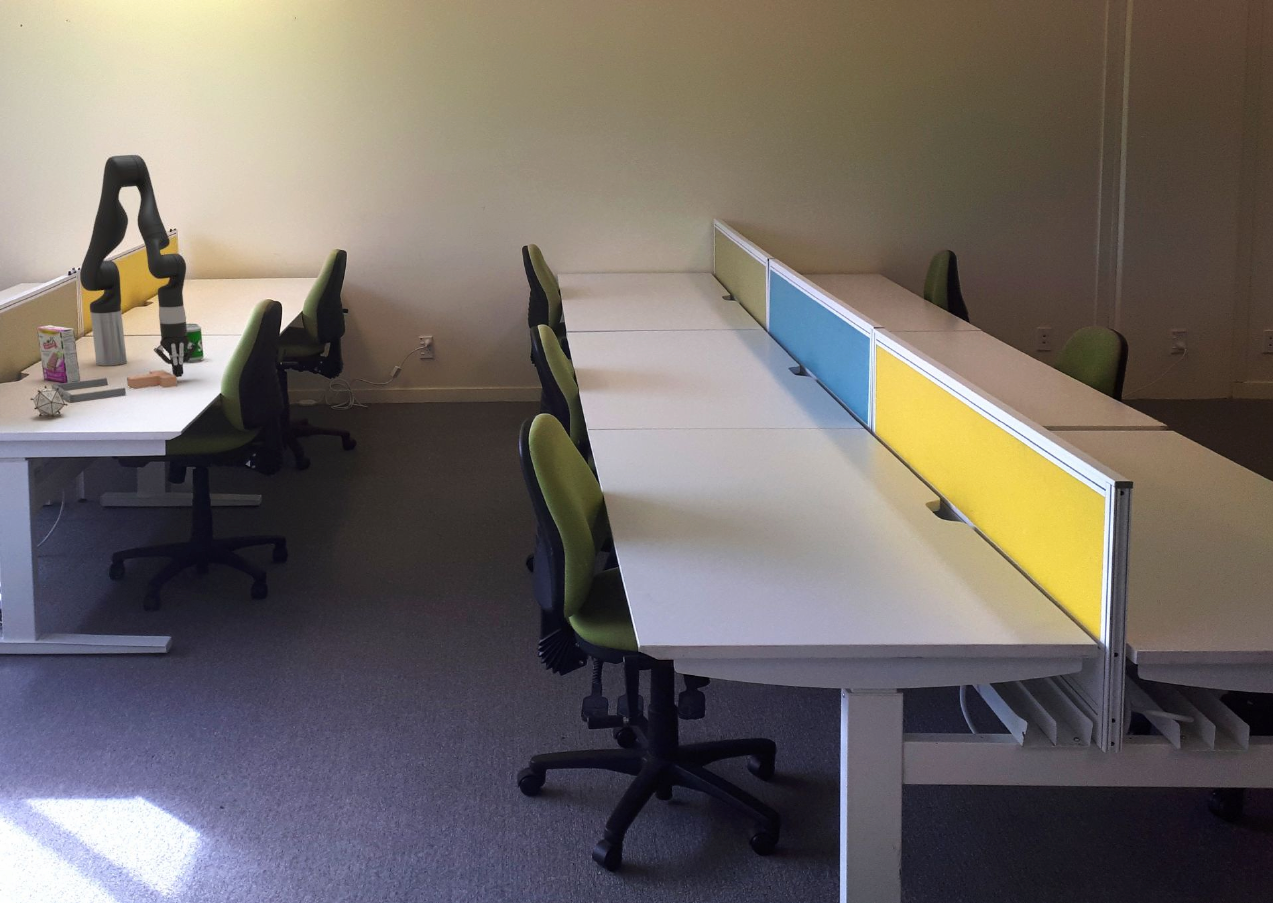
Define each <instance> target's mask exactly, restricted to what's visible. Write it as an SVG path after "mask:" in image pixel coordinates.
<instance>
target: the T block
mask: <svg viewBox="0 0 1273 903" xmlns="http://www.w3.org/2000/svg"><path fill="white" fill-rule="evenodd" d="M148 372H149V373H147V374H140V375H133V376H132V375H131V376H126V383H127V387H128V386H129V387H130V388H129V387H128V388H129V389H131V388H136V389H142V388H143V387H144V388H149V387H148V386H151V387H156V386H157V385H158V386H159V385H160V387H161V386H162V387H161V388H164V389H165V388H171V387H172V386H173V387H178V380H177V377H176V376H175V375H173V373H171V372H168V371H166V370H164V369H158V370H149V371H148ZM158 386H157V387H158ZM173 387H172V388H173Z"/></svg>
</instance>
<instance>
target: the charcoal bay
mask: <svg viewBox="0 0 1273 903" xmlns="http://www.w3.org/2000/svg"><path fill="white" fill-rule="evenodd" d="M102 386H108V378H107V377H103V378H94V379H87V380H86V379H85V380H80V381H76V382H70V383H62V382H61V383H55V384H51V389H54V390H57V388H59V390H58V392H59V393H60V395H62V394H63V395H64V396H63V397H62V398H63V400H66V401H67V402H68V403H77V402H85V401H91V400H99V398H100V399H106V398H107V397H108V398H113V397H112V396H115V397H122V396H126V395H127V392H126V387H121V388H113V389H105V390H98V391H91V392H90V391H89V392H83V393H82V392H81V393H75V394H72V393H70V392H68V391H72V390H79V389H80V390H81V389H86V388H94V387H102ZM125 394H126V395H125ZM121 395H122V396H121Z"/></svg>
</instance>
